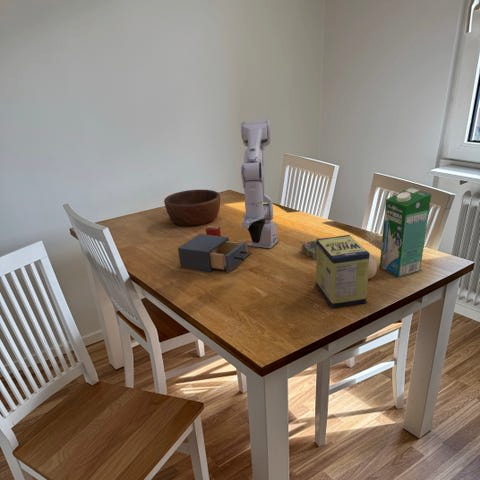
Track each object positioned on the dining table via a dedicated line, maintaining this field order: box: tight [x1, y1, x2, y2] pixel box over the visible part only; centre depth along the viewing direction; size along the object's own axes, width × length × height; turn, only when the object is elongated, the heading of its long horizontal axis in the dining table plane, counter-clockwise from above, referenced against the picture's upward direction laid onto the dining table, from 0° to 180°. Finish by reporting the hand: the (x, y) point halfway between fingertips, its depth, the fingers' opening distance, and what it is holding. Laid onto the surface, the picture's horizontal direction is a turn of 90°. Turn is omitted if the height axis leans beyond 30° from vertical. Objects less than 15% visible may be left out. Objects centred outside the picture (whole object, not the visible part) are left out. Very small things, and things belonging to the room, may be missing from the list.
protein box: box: [315, 234, 371, 309], centre depth 133 cm, size 10×16×16 cm
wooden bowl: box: [163, 189, 221, 227], centre depth 205 cm, size 25×25×10 cm
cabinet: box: [177, 233, 230, 273], centre depth 163 cm, size 12×14×7 cm
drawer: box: [209, 240, 252, 273], centre depth 159 cm, size 15×13×6 cm
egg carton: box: [299, 239, 317, 260], centre depth 163 cm, size 11×8×4 cm
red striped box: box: [205, 225, 222, 236], centre depth 176 cm, size 5×3×8 cm, turn 63°
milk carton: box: [379, 187, 432, 278], centre depth 142 cm, size 9×9×25 cm
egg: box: [368, 254, 378, 280], centre depth 142 cm, size 6×6×8 cm
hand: (256, 242), depth 151 cm, fingers closed
